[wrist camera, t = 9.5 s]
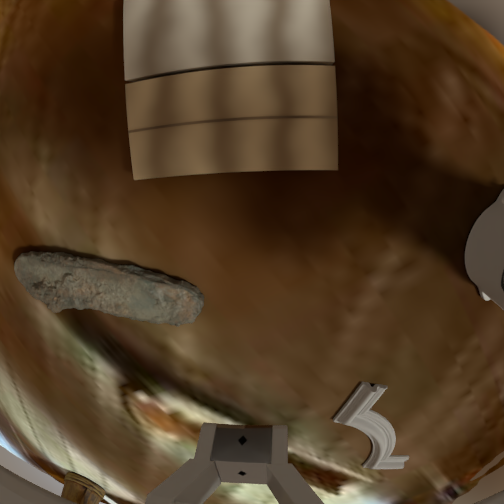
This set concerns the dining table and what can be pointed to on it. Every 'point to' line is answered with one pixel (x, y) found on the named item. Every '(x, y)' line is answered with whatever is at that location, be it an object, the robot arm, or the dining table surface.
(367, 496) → the dining table surface
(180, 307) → the long grey stone
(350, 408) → the molding
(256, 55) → the birch plank
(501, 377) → the dining table surface
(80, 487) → the tankard
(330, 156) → the oak board
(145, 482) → the dining table surface
